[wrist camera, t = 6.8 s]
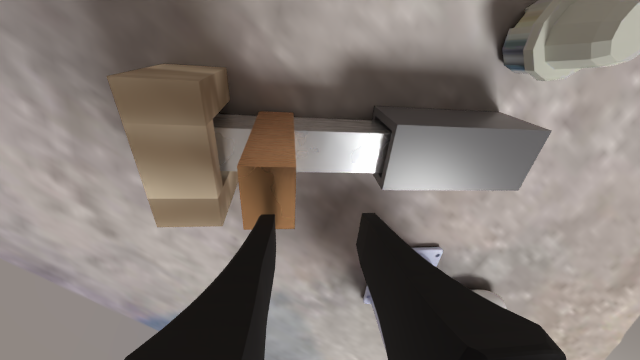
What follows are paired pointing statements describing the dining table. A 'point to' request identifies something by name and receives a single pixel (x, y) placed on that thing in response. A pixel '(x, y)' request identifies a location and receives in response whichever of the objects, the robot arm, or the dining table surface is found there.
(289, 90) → the dining table surface
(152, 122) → the socket block
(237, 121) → the brown and grey block
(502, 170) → the sleeve
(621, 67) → the dining table surface
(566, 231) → the dining table surface
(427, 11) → the dining table surface
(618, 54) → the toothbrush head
